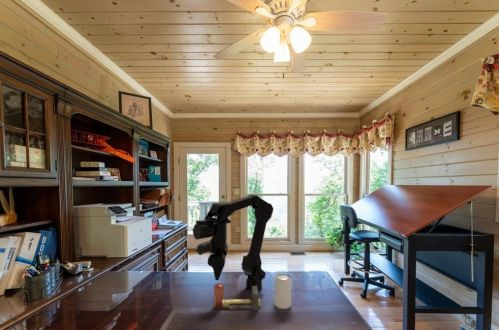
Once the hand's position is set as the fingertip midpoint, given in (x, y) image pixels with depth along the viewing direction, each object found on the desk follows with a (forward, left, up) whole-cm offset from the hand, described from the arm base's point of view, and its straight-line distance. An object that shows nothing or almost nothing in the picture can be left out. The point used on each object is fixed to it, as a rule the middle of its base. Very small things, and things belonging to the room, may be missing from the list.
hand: (218, 275), depth 98 cm
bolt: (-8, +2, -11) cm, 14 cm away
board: (-5, +2, -12) cm, 14 cm away
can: (-25, +2, -13) cm, 28 cm away
